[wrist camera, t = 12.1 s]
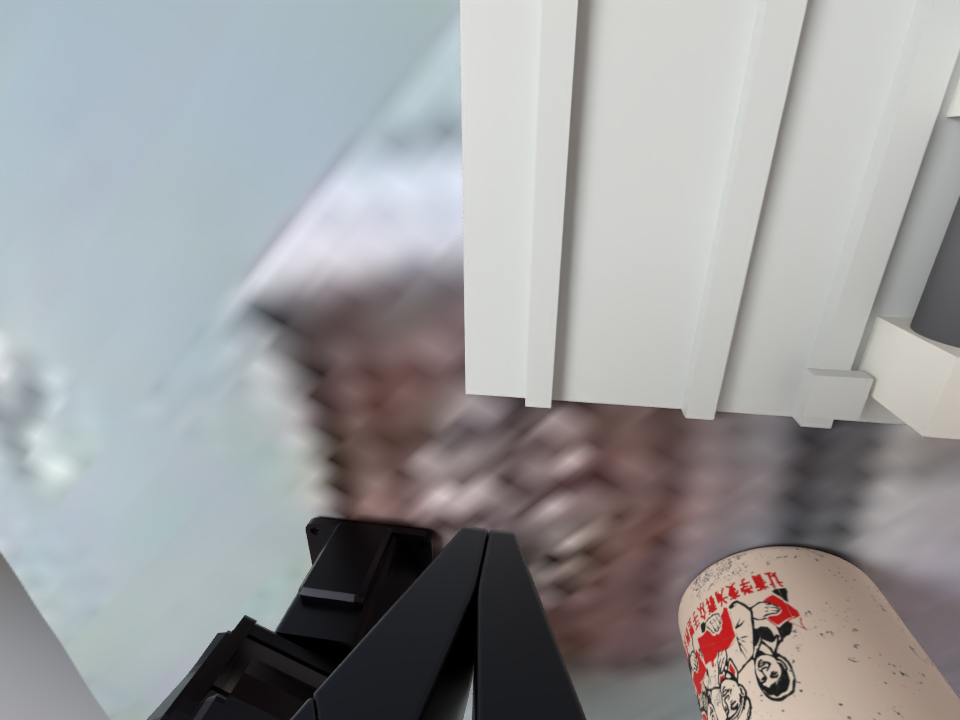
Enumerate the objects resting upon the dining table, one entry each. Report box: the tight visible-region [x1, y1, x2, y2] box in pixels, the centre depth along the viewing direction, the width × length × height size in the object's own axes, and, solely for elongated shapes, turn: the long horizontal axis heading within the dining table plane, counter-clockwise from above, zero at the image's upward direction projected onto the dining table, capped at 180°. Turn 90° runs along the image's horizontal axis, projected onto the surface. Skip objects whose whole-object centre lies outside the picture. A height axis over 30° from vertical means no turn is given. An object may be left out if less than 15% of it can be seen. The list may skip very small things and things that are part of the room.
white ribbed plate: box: [460, 0, 960, 428], centre depth 14 cm, size 15×22×3 cm
